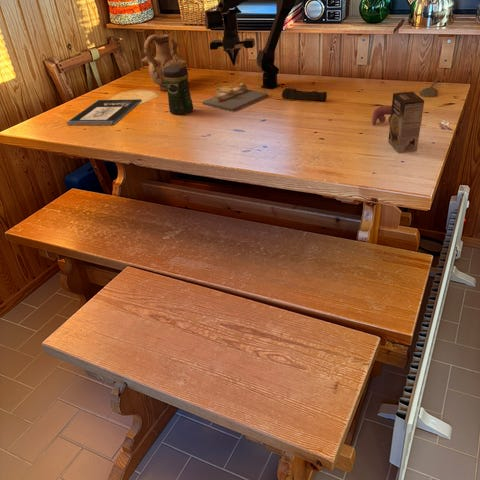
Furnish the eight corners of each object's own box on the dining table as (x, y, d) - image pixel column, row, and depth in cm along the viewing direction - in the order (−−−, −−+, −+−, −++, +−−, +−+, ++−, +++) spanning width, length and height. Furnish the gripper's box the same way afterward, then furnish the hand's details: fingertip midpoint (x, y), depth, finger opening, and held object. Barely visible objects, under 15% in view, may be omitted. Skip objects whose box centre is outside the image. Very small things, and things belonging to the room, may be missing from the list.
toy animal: (400, 127, 164) (402, 106, 163) (400, 125, 160) (403, 105, 159) (371, 126, 167) (374, 106, 166) (371, 124, 163) (373, 104, 161)
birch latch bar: (242, 88, 206) (242, 84, 205) (249, 90, 204) (248, 85, 203) (212, 100, 197) (212, 95, 196) (219, 101, 194) (218, 97, 193)
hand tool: (327, 100, 190) (327, 88, 187) (324, 103, 187) (324, 91, 184) (284, 97, 198) (284, 86, 195) (281, 100, 195) (280, 89, 192)
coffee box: (387, 142, 151) (392, 92, 142) (406, 139, 151) (412, 90, 142) (397, 153, 143) (403, 102, 134) (417, 151, 144) (425, 99, 134)
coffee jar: (196, 109, 193) (190, 63, 183) (186, 116, 187) (179, 69, 177) (177, 107, 197) (169, 62, 186) (167, 114, 191) (158, 68, 181)
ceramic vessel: (191, 90, 216) (182, 32, 202) (150, 97, 213) (139, 39, 198) (184, 80, 230) (176, 26, 216) (146, 86, 227) (135, 32, 213)
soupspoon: (417, 99, 184) (434, 101, 181) (419, 91, 182) (436, 93, 179) (429, 81, 199) (445, 82, 196) (430, 73, 196) (446, 74, 194)
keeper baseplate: (238, 89, 210) (237, 78, 207) (268, 96, 199) (267, 84, 196) (202, 104, 198) (201, 92, 195) (232, 111, 187) (231, 99, 184)
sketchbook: (142, 102, 210) (141, 97, 209) (113, 127, 186) (112, 122, 185) (99, 102, 215) (98, 98, 213) (66, 126, 191) (64, 122, 190)
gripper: (204, 31, 187) (208, 70, 196) (249, 29, 183) (251, 69, 192) (210, 25, 196) (215, 63, 205) (254, 23, 192) (256, 62, 201)
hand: (234, 64), depth 200 cm, fingers closed
